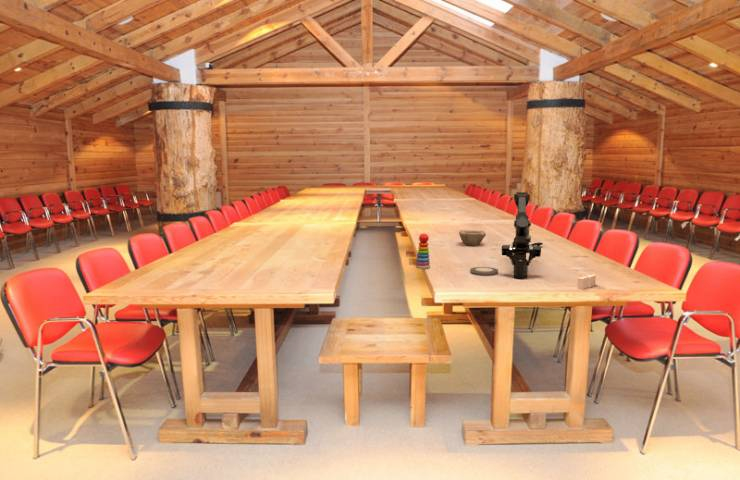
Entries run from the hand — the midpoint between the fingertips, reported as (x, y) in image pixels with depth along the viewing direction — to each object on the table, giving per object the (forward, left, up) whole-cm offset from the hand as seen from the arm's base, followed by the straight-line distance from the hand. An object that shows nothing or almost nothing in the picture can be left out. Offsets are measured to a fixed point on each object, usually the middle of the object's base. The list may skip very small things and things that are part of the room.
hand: (520, 265), depth 267 cm
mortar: (-19, -93, -7) cm, 95 cm away
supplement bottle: (-1, -1, -7) cm, 7 cm away
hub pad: (+11, -16, -7) cm, 21 cm away
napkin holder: (-19, +23, -7) cm, 31 cm away
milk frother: (-51, -77, -7) cm, 93 cm away
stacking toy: (+37, -36, -7) cm, 52 cm away
